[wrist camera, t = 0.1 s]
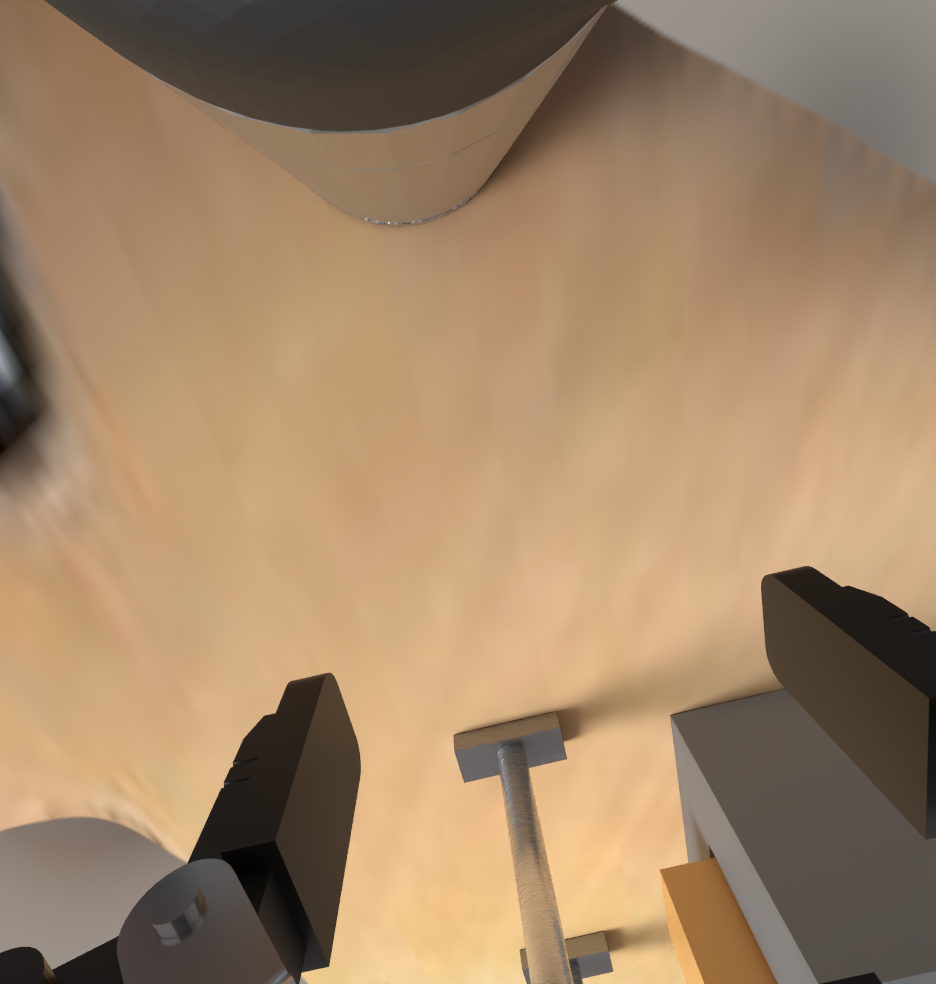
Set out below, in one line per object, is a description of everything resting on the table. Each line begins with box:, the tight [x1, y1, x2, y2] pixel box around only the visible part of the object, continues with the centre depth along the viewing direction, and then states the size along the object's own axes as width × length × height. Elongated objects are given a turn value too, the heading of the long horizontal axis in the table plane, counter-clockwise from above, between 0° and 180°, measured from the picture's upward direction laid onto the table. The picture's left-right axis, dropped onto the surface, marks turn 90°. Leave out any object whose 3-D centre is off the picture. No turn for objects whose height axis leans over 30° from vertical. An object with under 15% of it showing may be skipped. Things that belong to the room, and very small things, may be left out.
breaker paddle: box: [660, 857, 778, 984], centre depth 30 cm, size 6×5×7 cm
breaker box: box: [670, 689, 936, 984], centre depth 30 cm, size 18×8×16 cm, turn 13°
